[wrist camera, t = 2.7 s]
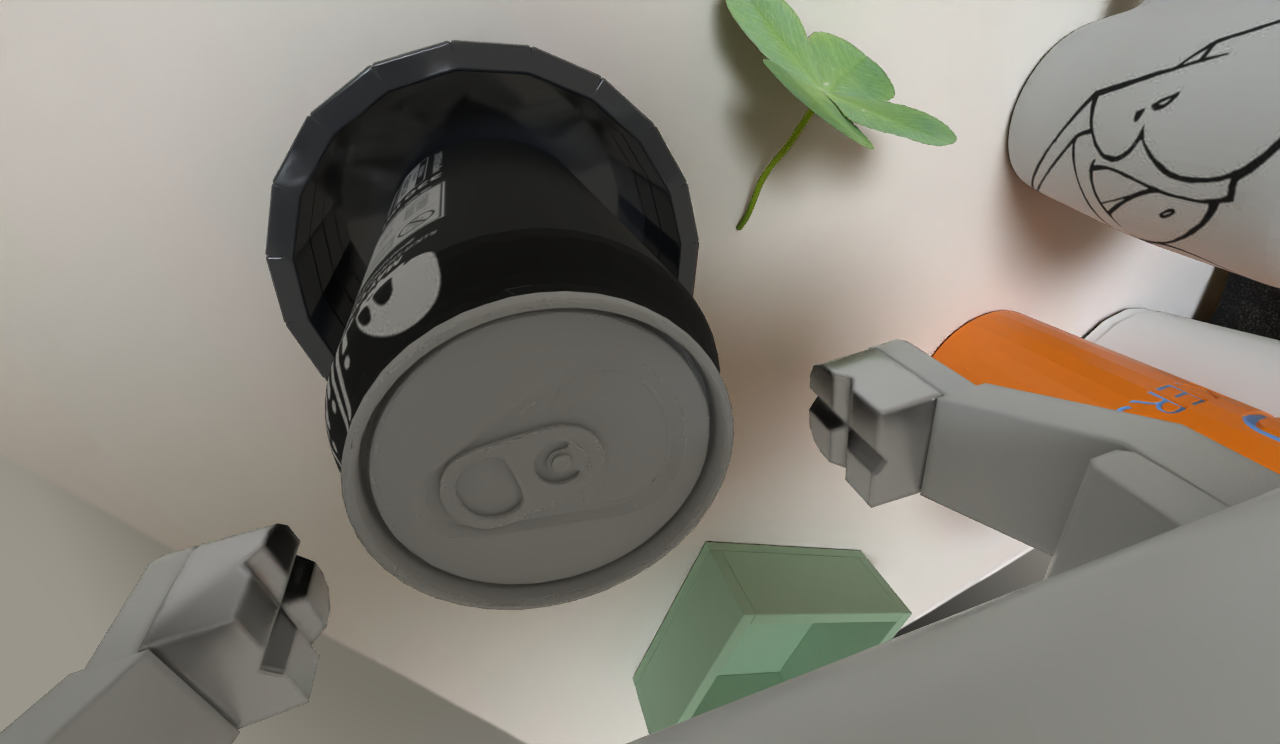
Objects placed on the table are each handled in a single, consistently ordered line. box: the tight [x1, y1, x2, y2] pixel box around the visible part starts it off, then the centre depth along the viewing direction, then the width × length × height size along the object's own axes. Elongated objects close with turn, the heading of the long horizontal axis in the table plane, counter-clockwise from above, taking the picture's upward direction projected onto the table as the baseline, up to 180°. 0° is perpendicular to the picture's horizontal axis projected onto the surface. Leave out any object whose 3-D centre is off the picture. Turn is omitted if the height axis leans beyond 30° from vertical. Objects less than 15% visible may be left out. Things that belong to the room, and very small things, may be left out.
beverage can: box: [325, 138, 734, 610], centre depth 13 cm, size 7×7×12 cm
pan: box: [265, 40, 699, 381], centre depth 17 cm, size 11×11×4 cm
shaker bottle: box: [933, 310, 1280, 474], centre depth 20 cm, size 9×9×20 cm
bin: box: [633, 542, 912, 735], centre depth 32 cm, size 11×11×5 cm
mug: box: [1008, 0, 1280, 288], centre depth 18 cm, size 11×8×10 cm
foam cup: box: [1084, 308, 1280, 418], centre depth 26 cm, size 10×9×13 cm
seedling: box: [726, 0, 957, 230], centre depth 18 cm, size 7×8×6 cm
